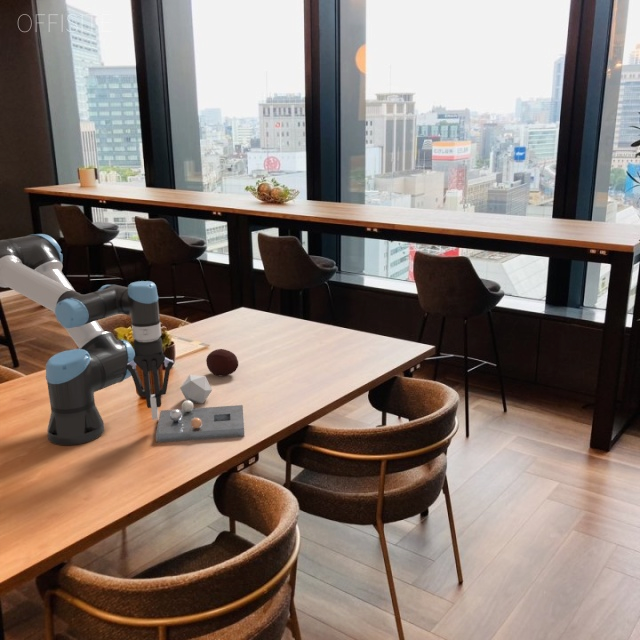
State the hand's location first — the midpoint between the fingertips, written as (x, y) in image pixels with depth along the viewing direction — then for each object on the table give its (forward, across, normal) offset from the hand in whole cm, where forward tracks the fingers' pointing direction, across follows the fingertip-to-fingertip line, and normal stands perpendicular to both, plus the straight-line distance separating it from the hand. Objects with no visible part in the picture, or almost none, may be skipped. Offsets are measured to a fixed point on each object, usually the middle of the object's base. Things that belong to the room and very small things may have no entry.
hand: (155, 417), depth 196 cm
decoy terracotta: (0, +12, -5) cm, 13 cm away
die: (+4, +10, +20) cm, 23 cm away
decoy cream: (0, +9, +6) cm, 11 cm away
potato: (+4, +18, +41) cm, 45 cm away
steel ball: (0, +6, 0) cm, 6 cm away
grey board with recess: (+4, +13, 0) cm, 13 cm away
